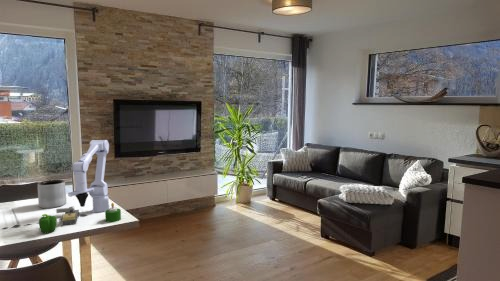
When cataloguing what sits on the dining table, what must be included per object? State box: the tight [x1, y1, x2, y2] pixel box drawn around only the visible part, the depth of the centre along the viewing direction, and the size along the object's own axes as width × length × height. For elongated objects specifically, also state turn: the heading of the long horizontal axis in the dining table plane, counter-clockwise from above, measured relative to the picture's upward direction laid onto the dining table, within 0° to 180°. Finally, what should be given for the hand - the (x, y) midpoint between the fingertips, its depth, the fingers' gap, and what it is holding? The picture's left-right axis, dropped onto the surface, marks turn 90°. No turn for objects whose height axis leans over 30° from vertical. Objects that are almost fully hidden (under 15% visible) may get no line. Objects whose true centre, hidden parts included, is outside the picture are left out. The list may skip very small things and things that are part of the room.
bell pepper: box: [38, 213, 58, 234], centre depth 191 cm, size 8×8×10 cm
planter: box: [37, 179, 67, 209], centre depth 239 cm, size 16×16×16 cm
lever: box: [55, 206, 75, 214], centre depth 216 cm, size 3×9×2 cm, turn 110°
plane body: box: [61, 209, 80, 226], centre depth 211 cm, size 20×7×2 cm, turn 21°
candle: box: [104, 202, 122, 223], centre depth 209 cm, size 8×8×10 cm
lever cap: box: [62, 213, 76, 221], centre depth 205 cm, size 6×7×2 cm
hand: (82, 206), depth 208 cm, fingers closed
